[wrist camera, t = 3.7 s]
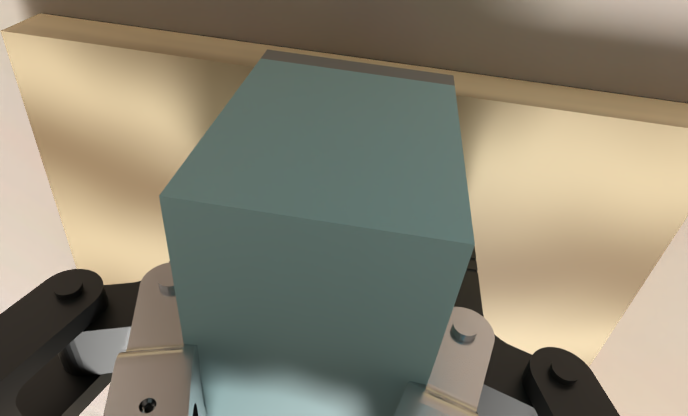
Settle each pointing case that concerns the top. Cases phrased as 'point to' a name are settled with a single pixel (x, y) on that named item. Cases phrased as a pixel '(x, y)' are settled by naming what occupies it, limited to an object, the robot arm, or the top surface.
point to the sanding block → (320, 237)
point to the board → (478, 149)
